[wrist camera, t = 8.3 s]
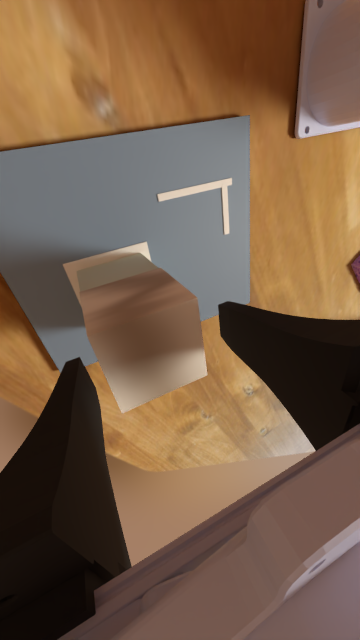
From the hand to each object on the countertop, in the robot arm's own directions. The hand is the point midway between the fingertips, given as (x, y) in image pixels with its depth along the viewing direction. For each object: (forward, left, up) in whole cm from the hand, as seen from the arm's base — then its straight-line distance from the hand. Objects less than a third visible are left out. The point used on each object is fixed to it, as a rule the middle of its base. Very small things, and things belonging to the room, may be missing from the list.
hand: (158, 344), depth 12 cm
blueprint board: (-3, -1, -10) cm, 11 cm away
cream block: (0, 0, -4) cm, 5 cm away
